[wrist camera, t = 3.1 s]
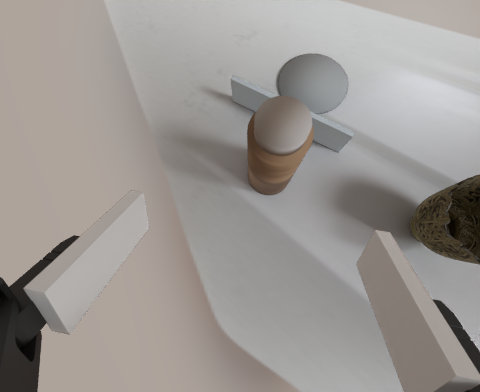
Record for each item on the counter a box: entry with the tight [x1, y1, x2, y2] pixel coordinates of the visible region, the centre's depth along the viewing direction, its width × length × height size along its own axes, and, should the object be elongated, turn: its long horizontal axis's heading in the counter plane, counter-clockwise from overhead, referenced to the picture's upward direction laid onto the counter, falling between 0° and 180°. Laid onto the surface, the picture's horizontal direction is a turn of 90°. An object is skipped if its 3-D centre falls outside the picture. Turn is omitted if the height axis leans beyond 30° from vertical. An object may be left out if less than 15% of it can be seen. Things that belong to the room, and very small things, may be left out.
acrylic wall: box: [231, 75, 355, 152], centre depth 27 cm, size 15×1×4 cm, turn 60°
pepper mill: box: [247, 96, 314, 195], centre depth 22 cm, size 5×5×12 cm
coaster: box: [279, 54, 348, 114], centre depth 30 cm, size 9×9×1 cm
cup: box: [410, 175, 480, 264], centre depth 21 cm, size 8×7×8 cm
